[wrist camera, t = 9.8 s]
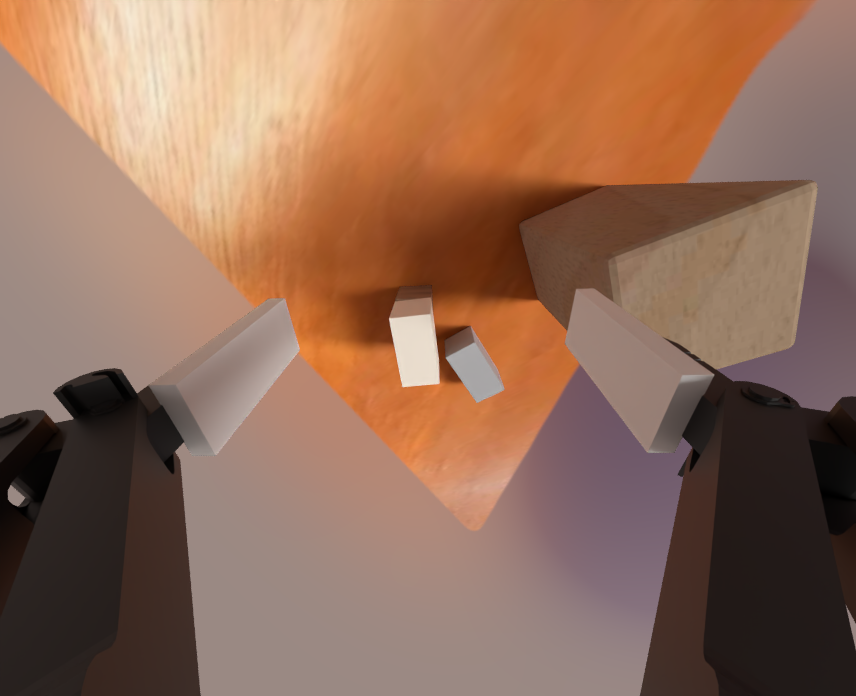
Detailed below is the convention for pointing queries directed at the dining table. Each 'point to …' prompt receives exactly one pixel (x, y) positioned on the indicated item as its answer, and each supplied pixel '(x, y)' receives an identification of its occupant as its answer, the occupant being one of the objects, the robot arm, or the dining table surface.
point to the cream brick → (415, 342)
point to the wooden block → (683, 260)
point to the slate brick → (473, 364)
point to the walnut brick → (414, 293)
